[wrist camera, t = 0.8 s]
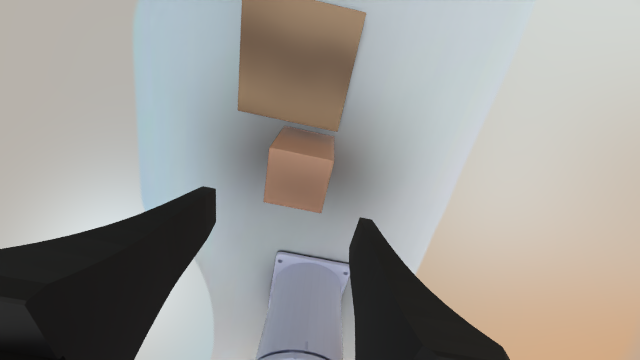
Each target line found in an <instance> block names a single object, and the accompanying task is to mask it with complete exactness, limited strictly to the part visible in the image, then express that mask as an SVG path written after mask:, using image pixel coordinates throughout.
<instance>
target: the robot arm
mask: <svg viewBox="0 0 640 360" xmlns="http://www.w3.org/2000/svg"><path fill="white" fill-rule="evenodd" d="M215 223H216V189H214V188H209V187H204V186H203V187H200V188H198V189H196V190H193V191H191V192H189V193H187V194H185V195H183V196H180V197H178V198H176V199H174V200H172V201H170V202H167V203H165V204H163V205H161V206H158V207H156V208H153V209H151V210H148V211H146V212H143V213H141V214H139V215H136V216H133V217H130V218H128V219H125V220H122V221H119V222H116V223H113V224H109V225H106V226H103V227H99V228H95V229H92V230H88V231H85V232H81V233H77V234H73V235H70V236H65V237H61V238H56V239H52V240H47V241H42V242H38V243H32V244H27V245H22V246H16V247H10V248H4V249H0V360H134V359H135V357H136V355H137V353H138V351H139V349H140V347H141V345H142V343H143V341H144V339H145V337H146V335H147V333H148V331H149V329H150V328H151V326H152V324H153V322H154V320H155V319H156V317H157V315H158V313H159V311H160V309H161V308H162V306H163V304H164V302H165V301H166V299H167V297H168V296H169V294H170V292H171V290H172V289H173V287H174V285H175V284H176V282H177V281H178V279H179V278H180V276H181V275H182V274H183V272H184V271H185V269H186V268H187V266H188V265H189V264H190V262H191V261H192V260H193V258H194V257H195V256H196V254H197V253H198V251H199V250H200V248H201V247H202V246H203V244H204V243H205V241H206V240H207V238H208V236H209V234H210V233H211V231H212V229H213V227H214V225H215ZM279 259H281V260H279ZM349 276H350V279H351V288H352V296H353V305H354V315H355V360H510V359H509V357H508V356H507V354H506V352H505V351H504V349H503V347H502V346H500V345H499V344H498V343H496V342H495V341H493V340H492V339H490V338H489V337H487V336H486V335H485V334H483V333H482V332H480V331H479V330H478V329H476V328H475V327H473V326H472V325H471V324H469V323H468V322H467V321H466V320H464V319H463V318H462V317H460V316H459V315H458V314H457V313H455V312H454V311H453V310H452V309H451V308H449V307H448V306H447V305H446V304H445V303H443V302H442V301H441V300H440V299H439V298H438V297H437V296H436V295H434V294H433V293H432V292H431V291H430V290H429V289H428V288H427V287H426V286H425V285H424V284H423V283H422V282H421V281H420V280H419V279H418V278H417V277H416V276H415V275H414V274H413V273H412V272H411V270H410V269H409V268H408V267H407V266H406V265H405V264H404V262H403V261H402V260H401V259H400V258H399V256H398V255H397V254H396V253H395V251H394V250H393V249H392V247H391V246H390V245H389V243H388V242H387V241H386V239H385V238H384V236H383V235H382V234H381V232H380V231H379V229H378V228H377V226H376V225H375V223H374V222H373V221H372V220H371V219H366V218H361V217H360V218H359V221H358V224H357V227H356V230H355V233H354V236H353V238H352V241H351V244H350V247H349V264H344V263H339V262H334V261H328V260H323V259H318V258H312V257H307V256H302V255H296V254H291V253H286V252H278V253H277V255H276V260H275V266H274V272H273V278H272V285H271V291H270V297H269V304H268V313H267V317H266V321H265V324H264V328H263V332H262V336H261V340H260V344H259V348H258V352H257V356H256V359H255V360H343V343H342V310H341V297H342V295H343V292H344V289H345V287H346V284H347V281H348V279H349Z"/></svg>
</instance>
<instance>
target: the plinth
mask: <svg viewBox="0 0 640 360" xmlns="http://www.w3.org/2000/svg"><path fill="white" fill-rule="evenodd" d="M365 16H366V13H365V12H361V11H357V10H353V9H349V8H344V7H340V6H336V5H332V4H328V3H324V2H319V1H315V0H242V14H241V40H240V66H239V91H238V111H243V112H248V113H252V114H257V115H262V116H266V117H271V118H275V119H280V120H285V121H289V122H294V123H299V124H303V125H308V126H313V127H317V128H322V129H327V130H331V131H336V132H337V131H338V127H339V123H340V119H341V115H342V111H343V107H344V103H345V99H346V94H347V90H348V86H349V82H350V78H351V74H352V70H353V66H354V62H355V57H356V53H357V49H358V45H359V41H360V37H361V33H362V29H363V25H364V20H365Z"/></svg>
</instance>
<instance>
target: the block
mask: <svg viewBox="0 0 640 360" xmlns="http://www.w3.org/2000/svg"><path fill="white" fill-rule="evenodd" d="M333 164H334V136H329V135H325V134H320V133H315V132H311V131H306V130H301V129H297V128H292V127H287V126H284V127H283V129H282V130H281V132H280V133H279V135H278V136H277V137H276V139H275V140H274V142H273V143H272V145H271V146H270V148H269V157H268V166H267V175H266V184H265V193H264V202H266V203H271V204H276V205H281V206H286V207H292V208H297V209H302V210H307V211H312V212H317V213H321V212H322V208H323V204H324V200H325V196H326V192H327V188H328V184H329V180H330V176H331V172H332V168H333Z"/></svg>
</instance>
